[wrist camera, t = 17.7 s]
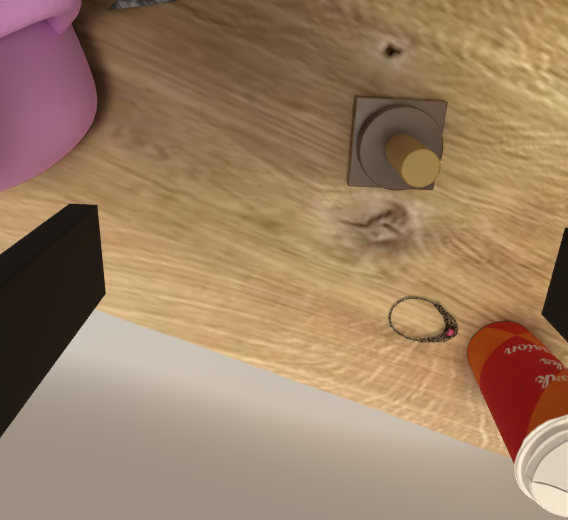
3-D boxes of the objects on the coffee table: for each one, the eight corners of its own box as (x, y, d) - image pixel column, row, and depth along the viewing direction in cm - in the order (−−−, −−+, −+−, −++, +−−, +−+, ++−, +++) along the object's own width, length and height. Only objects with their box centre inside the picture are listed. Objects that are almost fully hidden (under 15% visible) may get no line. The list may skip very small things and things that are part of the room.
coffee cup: (564, 348, 47) (680, 476, 33) (491, 401, 49) (571, 542, 35) (507, 291, 45) (606, 402, 31) (434, 350, 47) (495, 478, 33)
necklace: (444, 348, 47) (448, 354, 46) (381, 329, 46) (383, 335, 45) (465, 310, 45) (469, 316, 44) (400, 289, 45) (402, 294, 44)
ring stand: (354, 95, 38) (373, 109, 30) (443, 100, 39) (485, 115, 30) (346, 182, 41) (361, 217, 33) (429, 186, 41) (464, 222, 33)
